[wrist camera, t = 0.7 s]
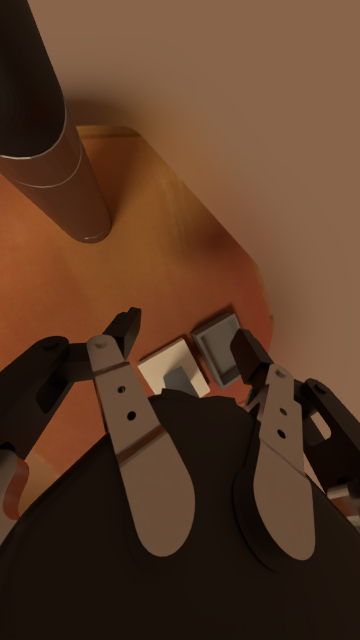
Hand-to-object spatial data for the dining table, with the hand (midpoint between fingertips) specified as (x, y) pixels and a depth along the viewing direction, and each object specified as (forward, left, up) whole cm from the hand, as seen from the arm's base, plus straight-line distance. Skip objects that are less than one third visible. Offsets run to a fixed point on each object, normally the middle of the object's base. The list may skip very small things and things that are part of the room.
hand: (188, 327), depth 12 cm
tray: (+16, +10, -22) cm, 29 cm away
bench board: (+16, -4, -22) cm, 28 cm away
